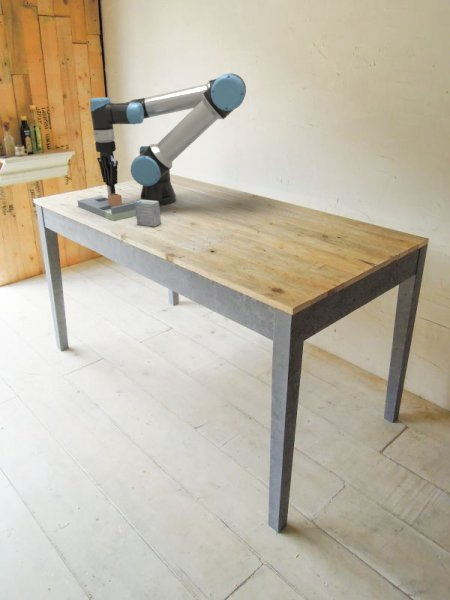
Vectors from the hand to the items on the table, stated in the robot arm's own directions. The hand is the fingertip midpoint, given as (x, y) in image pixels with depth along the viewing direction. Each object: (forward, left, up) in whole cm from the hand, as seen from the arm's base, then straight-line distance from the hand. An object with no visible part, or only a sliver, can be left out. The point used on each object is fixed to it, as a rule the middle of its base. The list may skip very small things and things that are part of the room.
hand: (112, 200), depth 204 cm
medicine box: (-21, +18, -4) cm, 28 cm away
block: (-2, +2, -1) cm, 3 cm away
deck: (+2, +1, -4) cm, 5 cm away
